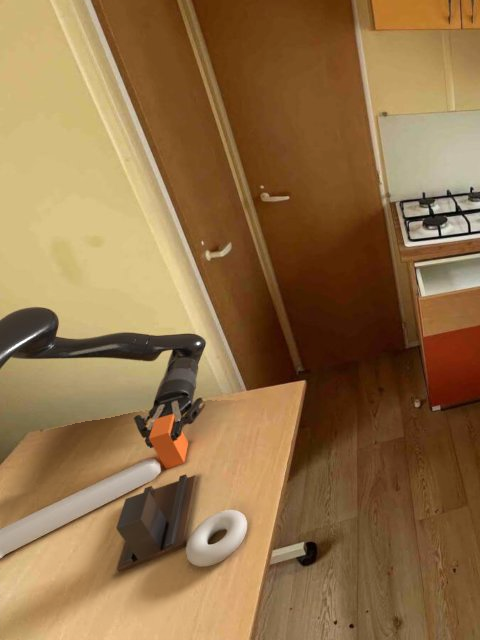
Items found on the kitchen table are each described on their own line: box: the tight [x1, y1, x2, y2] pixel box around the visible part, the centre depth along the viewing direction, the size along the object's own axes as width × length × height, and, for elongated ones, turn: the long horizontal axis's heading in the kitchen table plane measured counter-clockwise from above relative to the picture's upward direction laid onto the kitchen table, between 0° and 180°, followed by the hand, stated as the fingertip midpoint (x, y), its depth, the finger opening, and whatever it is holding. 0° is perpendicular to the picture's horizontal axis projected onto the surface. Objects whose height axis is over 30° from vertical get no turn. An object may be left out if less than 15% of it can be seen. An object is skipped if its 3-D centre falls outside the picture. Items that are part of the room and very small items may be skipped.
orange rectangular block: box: [149, 414, 189, 470], centre depth 97 cm, size 4×6×10 cm, turn 27°
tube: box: [0, 457, 162, 559], centre depth 87 cm, size 5×5×25 cm
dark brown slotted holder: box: [115, 473, 198, 574], centre depth 83 cm, size 10×16×11 cm, turn 27°
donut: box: [185, 509, 248, 568], centre depth 81 cm, size 10×4×10 cm
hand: (162, 441), depth 93 cm, fingers closed on orange rectangular block, 3 cm apart
